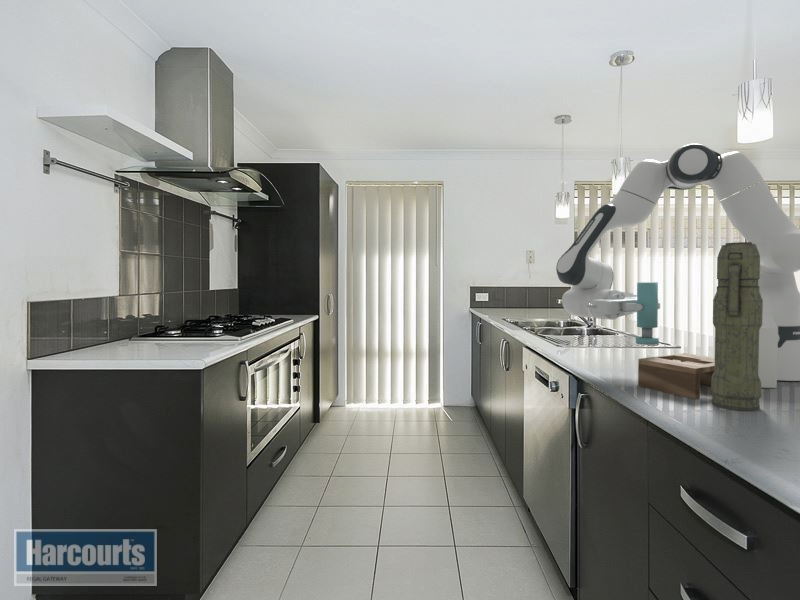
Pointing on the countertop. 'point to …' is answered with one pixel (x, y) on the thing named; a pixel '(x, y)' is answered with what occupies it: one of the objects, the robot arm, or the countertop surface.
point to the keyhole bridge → (676, 373)
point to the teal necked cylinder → (647, 312)
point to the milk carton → (768, 351)
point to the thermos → (737, 328)
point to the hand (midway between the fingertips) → (650, 306)
